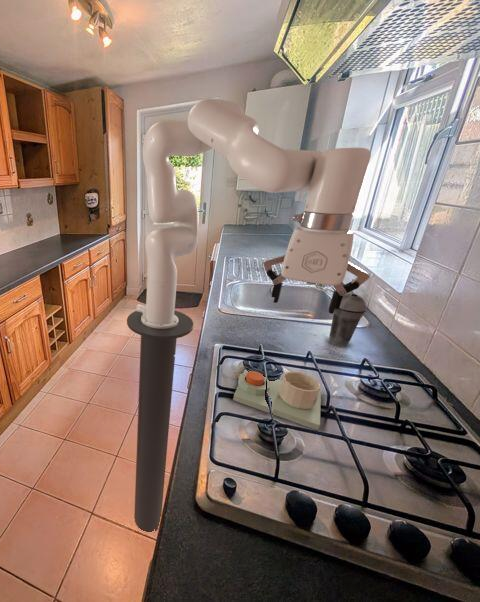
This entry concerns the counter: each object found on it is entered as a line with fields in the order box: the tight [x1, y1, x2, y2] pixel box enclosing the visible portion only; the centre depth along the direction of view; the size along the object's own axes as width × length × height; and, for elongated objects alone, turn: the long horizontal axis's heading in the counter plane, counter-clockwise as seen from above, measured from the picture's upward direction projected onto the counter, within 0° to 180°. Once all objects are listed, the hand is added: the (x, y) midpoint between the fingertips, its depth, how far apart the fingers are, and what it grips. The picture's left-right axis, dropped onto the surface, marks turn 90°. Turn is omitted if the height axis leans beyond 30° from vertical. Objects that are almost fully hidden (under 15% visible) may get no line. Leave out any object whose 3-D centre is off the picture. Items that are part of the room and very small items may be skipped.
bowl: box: [279, 370, 322, 409], centre depth 65 cm, size 7×7×5 cm
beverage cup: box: [328, 278, 367, 348], centre depth 87 cm, size 7×7×20 cm
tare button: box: [246, 370, 264, 386], centre depth 70 cm, size 4×4×2 cm
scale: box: [232, 369, 322, 431], centre depth 68 cm, size 16×12×3 cm
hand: (302, 305), depth 63 cm, fingers open, 9 cm apart
